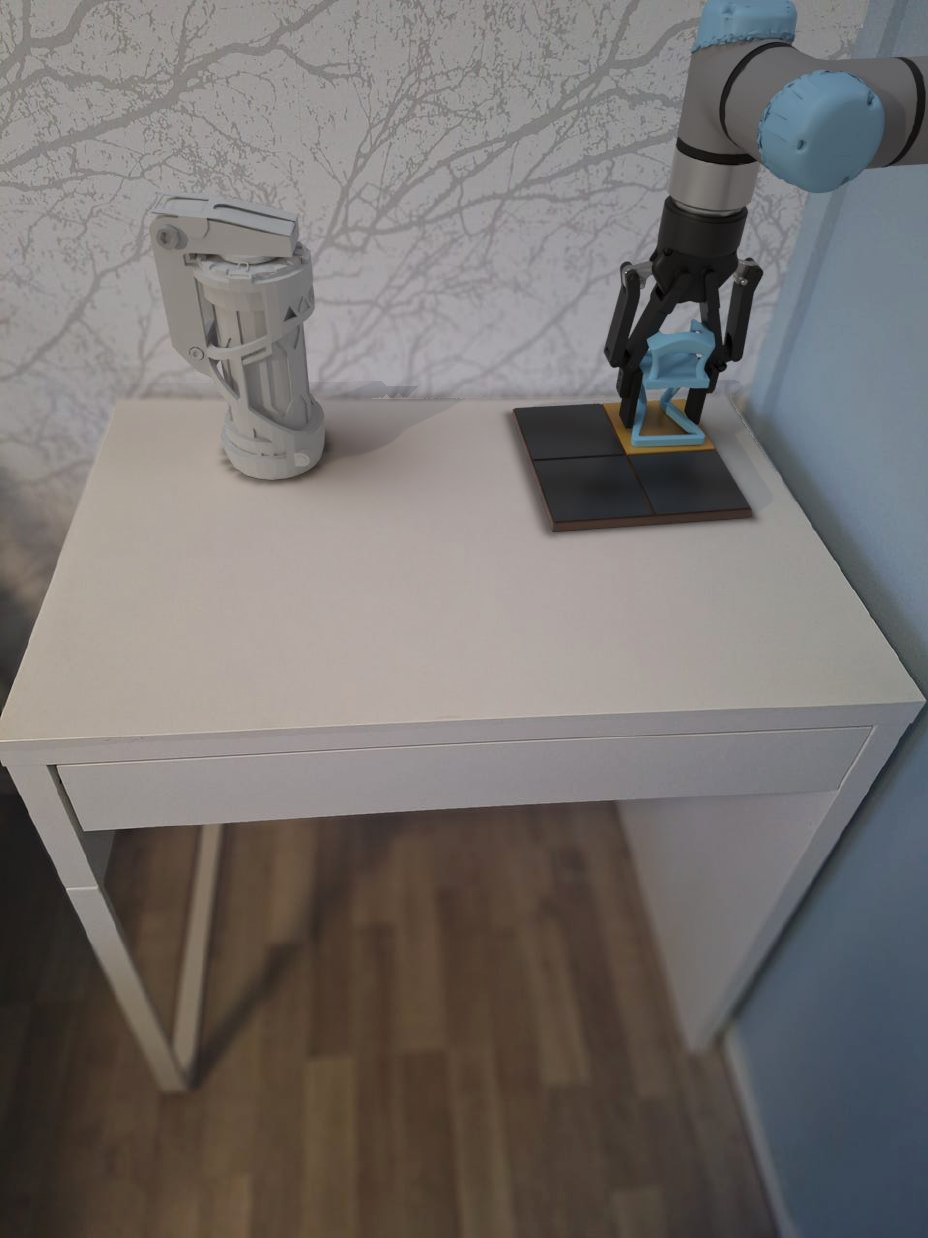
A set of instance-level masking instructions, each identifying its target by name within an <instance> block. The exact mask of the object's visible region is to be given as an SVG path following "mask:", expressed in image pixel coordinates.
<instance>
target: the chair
mask: <svg viewBox="0 0 928 1238" xmlns="http://www.w3.org/2000/svg"><path fill="white" fill-rule="evenodd" d="M647 343H648V346H649V349H648V351H647V352H646V354H645V356H644V358H643V359H642V361H641V363H640V365H639V367H640V368H641V370H642V372H643V379H642V384H641V389H640V394H639V399H638V404H637V410H636V417H635V421H634V426H633V431H632V436H631V444H632V446H634V447H650V446H675V445H700V444H703V443H704V439H705V434H704V433H703V432H702V431H701V429H700V428H699V427H697V426H696V425H695V424H694V423H693V422H692V421H691V420H690V419H689V418H688V417H687V416H685V415H684V414H683V413H682V412H681V411H680V410H679V409H678V408H677V407H676V406H675V405H674V404H673V403H672V402H671V401H670V400H673V398H674V396H675V395H676V394H677V393H678V392H679V391H680V390H681V388H688V389H689V388H708V386H709V381H710V380H709V378H708V376H707V374H706V372H705V371H704V366H705V363H706V361H707V359H708V358H709V356H710V354H711V353H712V351H713V350H714V348H715V338H714V333H712V332H711V331H709V330H708V328H707V326H706V325H705V324H704V323H701V321H700V322H699V321H698V320H697V319H695V318H692V319H690V326H689V331H678V332H673V333H663V332H661V329H659V331H658V333H656V334H655V335H653V336H652V337H650V338H648V339H647ZM698 355H700V357H701V358H700V359H699V360H698V357H699V356H698ZM664 389H666V390H665V391H664V392H663V394H662V395H660V398H659V400H660V402H659V406H660V407H661V409H662V410H663V411H664V412H665V413H666V414H667V415H668V416H669V417H671V418H672V419H673V420H674V421H675V422H676V423H677V424H679V425H680V426H681V427H682V428H683V429H684V430H686V431H687V432H688V433H689V434H690V435H666V436H639V434H640V431H641V427H642V424H643V420H644V416H645V411H646V406H647V401H648V398H647V393H646V391H653V390H664Z"/></svg>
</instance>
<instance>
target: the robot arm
mask: <svg viewBox="0 0 928 1238" xmlns="http://www.w3.org/2000/svg"><path fill="white" fill-rule="evenodd" d="M797 21H798V11H797V9H796V5H795V3H794V2H793V1H791V0H707V2H705V4H704V6H703V8H702V10H701V16H700V20H699V25H698V28H697V33H696V37H695V42H694V45H692V46H691V50H690V55H691V56H690V62H689V67H688V72H687V79H686V83H685V89H684V90H685V91H684V95H683V100H682V107H681V111H680V112H681V113H680V118H679V124H678V129H677V137H676V143H675V145H674V150H673V155H672V156H673V157H672V161H671V167H670V172H669V177H668V182H667V187H666V189H667V190H666V191H667V193H668V196H667V197H666V198H664V202H663V207H662V212H661V218H660V222H659V228H658V233H657V243H656V246H655V249H654V251H653V252H652V253H651V255H650V256H649V257H648V260H646V261H643V262H640V263H639V262H638V263H635V264H633V263H632V262H631V261H628V260H626V261H624V262H622V263H621V265H620V266H619V274H620V275H619V276H620V288H619V293H618V296H617V300H616V304H615V307H614V310H613V313H612V314H613V315H612V319H611V322H610V326H609V330H608V332H607V336H606V340H605V345H604V348H603V354H604V357H605V358H606V360H607V362H608V365H609V366H610V367H611V368H612V369H617V368H618V373H617V377H616V382H615V383H616V384H615V389H616V392H617V394H618V396H619V399H620V400H621V401H620V402H621V405H620V411H619V416H620V418H621V420H622V422H623V424H624V426H625V428H626V429H630V428H633V423H634V418H635V413H636V409H637V404H638V399H639V394H640V389H641V384H642V379H643V372H642V370H641V368H640V367H639V365H640V363H641V361H642V359H643V358H644V356H645V354H646V352H647V351H648V349H649V350H650V348H649V346H648V343H647V339H648V338H650V337H652V336H653V335H655V334H656V333H658V331H659V330H661V328H662V325H663V324H664V322H665V321H666V318H667V317H668V316H669V315H671V314H672V313H673V312H674V310H675V308H676V307H677V305H678V304H685V303H689V302H691V303H696V304H698V307H699V312H700V314H699V315H700V323H704V324H705V325H706V326H707V328H708V330H709V331H711V332H712V333H714V338H715V348H714V350H713V351H712V353H711V354H710V356H709V358H708V359H707V361H706V363H705V366H704V371H705V372H706V374H707V376H708V378H709V380H710V381H709V386H708V388H688V392H687V396H686V400H687V401H686V405H685V409H684V412H685V414H686V416H687V417H688V418H689V419H690V420H691V421H692V422H693V423H694V424H695V425H699V422H700V421H701V417H702V413H703V410H704V406H705V402H706V398H707V395H708V394H713V393H714V392H715V390H716V387H717V384H718V380H719V377H720V373H724V372H725V371H726V370H727V368H728V364H727V363H729V362H733V363H738V362H740V361H742V359H743V357H744V351H745V346H746V341H747V335H748V329H749V323H750V318H751V313H752V312H751V311H752V307H753V302H754V296H755V292H756V290H757V288H758V286H759V284H760V282H761V280H762V278H763V276H764V270H763V268H762V267H761V266H760V265H759V264H758V263H757V262H756V260H755V259H754V258H753V257H746V258H745V259H742V258H739V257H738V249H739V247H740V246H741V242H742V238H743V234H744V231H745V226H746V223H747V219H748V215H749V209H748V207H747V206H748V205H749V204H750V203H752V200H753V197H754V196H753V195H754V192H755V188H756V183H757V179H758V176H759V171H760V167H761V165H762V166H764V168H766V169H767V170H768V171H769V172H770V174H772V175H774V176H775V177H776V179H778V180H783V181H784V182H785V183H786V184H789V185H792V186H795V187H796V188H799V190H802V191H805V192H806V193H807V192H808V193H812V194H827V193H831V192H834V191H836V190H839V188H840V187H842V186H843V185H845V184H847V183H849V182H850V181H854V180H855V179H856V178H857V177H859V176H860V175H861V174H862V173H863V172H864V171H865V170H872V169H880V168H881V169H883V168H884V169H885V168H888V167H901V166H903V167H904V166H916V165H917V166H918V165H928V55H917V56H892V57H871V58H870V57H869V58H868V57H867V58H866V57H865V58H846V59H845V58H844V59H822V58H816V57H813V56H811V55H809V54H808V53H805V52H802V51H800V50H799V49H798V48H796V46H793V43H794V41H795V39H796V28H797V23H798V22H797ZM651 276H653V278H654V280H655V284H654V286H653V287H652V289H651V292H650V294H649V301H648V303H647V304H646V306H645V308H644V310H643V311H642V314H641V315H640V317H639V319H638V320H637V322H636V324H635V326H634V328H633V324H634V321H635V317H636V313H637V310H638V306H639V304H640V299H641V290H644V289H645V287H646V284H647V280H648V278H649V277H651ZM730 277H732V279H733V282H732V286H731V287H732V288H731V294H730V300H729V306H728V313H727V318H726V325H725V332H724V339H723V332H722V323H721V322H722V321H721V314H720V313H721V312H720V309H721V300H720V291H719V290H720V288H721V287H722V286H723V285H724V284H725V283H726V282H727V281H728V280H729V279H730ZM632 328H633V330H632ZM697 357H698V360H699V359H700V358H701V357H702V356H697Z"/></svg>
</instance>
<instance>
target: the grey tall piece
mask: <svg viewBox="0 0 928 1238" xmlns="http://www.w3.org/2000/svg"><path fill="white" fill-rule="evenodd" d="M164 196H166V197H167V198H166V199H165V200H164V201H163V202H162V203H161V201H162V199H163V198H164ZM160 203H161V205H160ZM159 205H160V207H159V208H157V207H158V206H159ZM149 213H150V214H155V215H154V217H153V218H152V220H151V222H150V224H149V225H148V233H149V237H150V243H151V248H152V252H153V259H154V262H155V268H156V273H157V278H158V282H159V287H160V292H161V297H162V301H163V307H164V311H165V316H166V321H167V326H168V331H169V336H170V341H171V346H172V348H173V349H175V351H176V352H177V353H178V355H180V356H181V357H182V358H183V359H184V360H185V361H186V362H187V363H188V364H189V365H190V366H192V368H194V369H195V371H196V372H198V373H200V374H202V375H204V376H207V377H209V378H211V379H212V382H213V384H214V386H215V388H216V389H217V391H218V393H219V394H220V396H222V398H223V399H224V400H225V402H226V403H227V407H228V409H227V411H226V412H225V415H224V425H223V427H222V429H221V433H220V437H221V443H222V446H223V449H224V452H225V454H226V456H227V458H228V460H229V461H230V463H231V464H232V467H233V468H234V469H235V470H237V471H239V472H240V473H242V474H243V475H244V476H248V477H251V478H255V479H259V480H270V481H274V480H283V479H290V478H294V477H297V476H300V475H302V474H305V473H306V472H308V471H309V470H311V469H312V468H314V467H315V466H316V465H318V463H319V461H321V458H322V456H323V452H324V448H325V441H326V439H325V438H326V423H325V412H324V409H323V407H322V406H321V404H320V403H319V402H318V401H317V400H316V398H315V397H314V395H312V393H311V391H310V380H309V373H308V372H309V371H308V370H309V368H308V359H307V349H306V338H305V337H306V336H305V326H304V322H305V321H307V320H309V318H310V317H311V316H312V315H313V313H314V311H315V307H316V301H315V299H316V298H315V289H314V274H313V263H312V251H311V250H310V248H308V247H307V246H306V245H305V244H304V243H302V242H301V241H300V240H299V237H300V226H299V217H298V213H295V212H291V211H287V210H284V209H278V208H275V207H271V206H267V205H263V204H259V203H254V202H250V201H247V200H243V199H238V198H232V199H231V198H227V197H226V198H221V196H220V195H219V194H210V193H201V192H184V191H174V190H173V191H172V190H164V189H163V190H162V192H161V194H160V195H159V196H158V198H157V200H156V202H155V203H154V205H153V206H152V208H151V209H150V210H149ZM219 363H221V370H222V374H221V371H219V368H218V367H217V365H218V364H219ZM222 375H223V376H222Z"/></svg>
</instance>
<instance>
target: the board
mask: <svg viewBox="0 0 928 1238" xmlns="http://www.w3.org/2000/svg"><path fill="white" fill-rule="evenodd" d="M670 401H671V402H672V403H673V404H674V405H675V406H676V407H677V408H678V409H679V410H680V411H681V412H682V413H683V414H684V415H685V416H686V414H685V412H684V409H685V405H686V401H687V398H674V399H671V400H670ZM659 402H660V399H659V400H655V399H654V400H647V406H646V411H645V416H644V420H643V424H642V427H641V431H640V434H639V436H666V435H690V434H689V433H688V432H687V431H686V430H684V429H683V428H682V427H681V426H680V425H679V424H677V423H676V422H675V421H674V420H673V419H672V418H671V417H669V416H668V415H667V414H666V413H665V412H664V411H663V410H662V409H661V407H660V406H659ZM620 405H621V401H620V402H619V401H617V402H603V403H582V404H581V403H579V404H563V405H562V404H561V405H544V406H525V407H515V408H512V413H511V418H512V419H513V423H514V426H515V429H516V431H517V433H518V436H519V439H520V443H521V445H522V448H523V452H524V455H525V457H526V460H527V462H528V465H529V469H530V472H531V475H532V477H533V480H534V483H535V486H536V489H537V492H538V495H539V497H540V500H541V503H542V506H543V508H544V511H545V514H546V518H547V520H548V523H549V527H550V528H551V531H552V532H565V531H580V530H594V529H608V528H622V527H623V528H624V527H637V526H650V525H664V524H678V523H692V522H693V523H694V522H704V521H705V522H707V521H718V520H733V519H745V518H746V519H747V518H751V516H752V515H751V514H752V511H753V509H752V507H751V505H750V504H749V502H748V500H747V499H746V497H745V496H744V494H743V492H742V490H741V489H740V487H739V486H738V484H737V482H736V480H735V479H734V477H733V475H732V474H731V472H730V470H729V469H728V467H727V465H726V464H725V462H724V460H723V458H722V457H721V455H720V454H719V452H718V451H717V449H716V447H715V445H714V444H713V442H712V440H711V439H710V437H709V435H708V434H707V431H706V430H705V429H704V427H703V425H702V423H701V422H700V421H699V425H696V426H697V427H699V428H700V429H701V431H702V432H703V433H704V434H705V439H704V443H703V444H700V445H675V446H650V447H634V446H632V444H631V436H632V431H633V428H630V429H626V428H625V426H624V424H623V422H622V420H621V418H620V416H619V411H620ZM636 410H637V409H636ZM635 417H636V413H635ZM634 421H635V418H634ZM633 426H634V423H633Z"/></svg>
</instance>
